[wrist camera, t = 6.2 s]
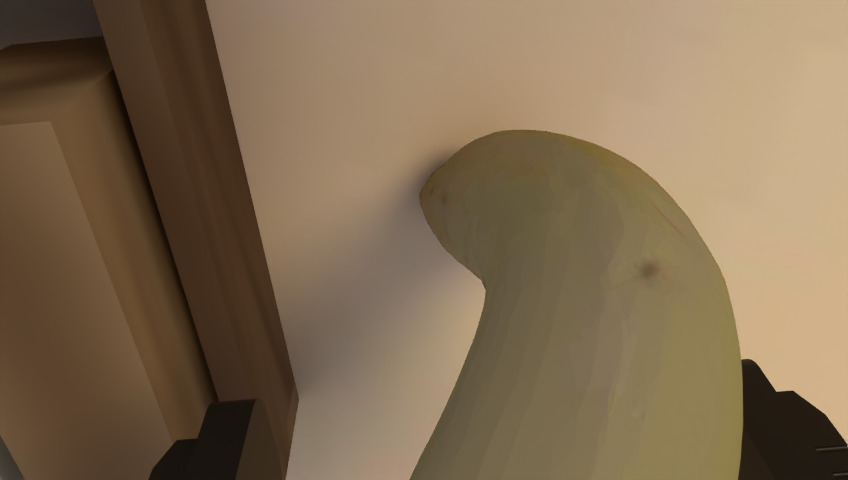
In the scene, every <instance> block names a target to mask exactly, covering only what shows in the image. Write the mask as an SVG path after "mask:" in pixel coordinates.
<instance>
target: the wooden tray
mask: <svg viewBox="0 0 848 480" xmlns="http://www.w3.org/2000/svg"><path fill="white" fill-rule="evenodd" d="M92 1H93V5H94V8H95V11H96V14H97V17H98V20H99V23H100V27H101V30H102V33H103V36H104V39H105V42H106V46H107V49H108V52H109V55H110V58H111V61H112V65H113V68H114V71H115V74H116V77H117V80H118V83H119V87H120V90H121V93H122V96H123V99H124V102H125V106H126V109H127V112H128V115H129V118H130V121H131V125H132V128H133V131H134V134H135V137H136V140H137V143H138V147H139V150H140V153H141V156H142V159H143V162H144V166H145V169H146V172H147V175H148V178H149V181H150V185H151V188H152V191H153V194H154V197H155V200H156V203H157V207H158V210H159V213H160V216H161V219H162V222H163V226H164V229H165V232H166V235H167V238H168V241H169V245H170V248H171V251H172V254H173V257H174V260H175V263H176V267H177V270H178V273H179V276H180V279H181V282H182V286H183V289H184V292H185V295H186V298H187V301H188V304H189V308H190V311H191V314H192V317H193V320H194V323H195V327H196V330H197V333H198V336H199V339H200V342H201V346H202V349H203V352H204V355H205V358H206V361H207V364H208V368H209V371H210V374H211V377H212V380H213V383H214V387H215V390H216V393H217V396H218V399H219V402H220V401H232V400H244V399H256V398H260V399H261V400H262V401H263V403H264V405H265V408H266V412H267V416H268V420H269V423H270V427H271V431H272V434H273V438H274V442H275V446H276V449H277V453H278V457H279V460H280V464H281V470H282V480H285V479H286V473H287V467H288V461H289V455H290V449H291V443H292V437H293V431H294V425H295V419H296V413H297V407H298V401H299V399H298V394H297V390H296V386H295V382H294V377H293V373H292V369H291V365H290V360H289V356H288V352H287V348H286V343H285V339H284V335H283V331H282V326H281V322H280V318H279V314H278V309H277V305H276V301H275V297H274V292H273V288H272V284H271V280H270V275H269V271H268V267H267V263H266V258H265V254H264V250H263V245H262V241H261V237H260V233H259V228H258V224H257V220H256V216H255V211H254V207H253V203H252V199H251V194H250V190H249V186H248V182H247V177H246V173H245V169H244V165H243V160H242V156H241V152H240V148H239V143H238V139H237V135H236V131H235V126H234V122H233V118H232V114H231V109H230V105H229V101H228V97H227V92H226V88H225V84H224V80H223V75H222V71H221V67H220V63H219V58H218V54H217V50H216V45H215V41H214V37H213V33H212V28H211V24H210V20H209V16H208V11H207V7H206V3H205V0H92Z"/></svg>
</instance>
